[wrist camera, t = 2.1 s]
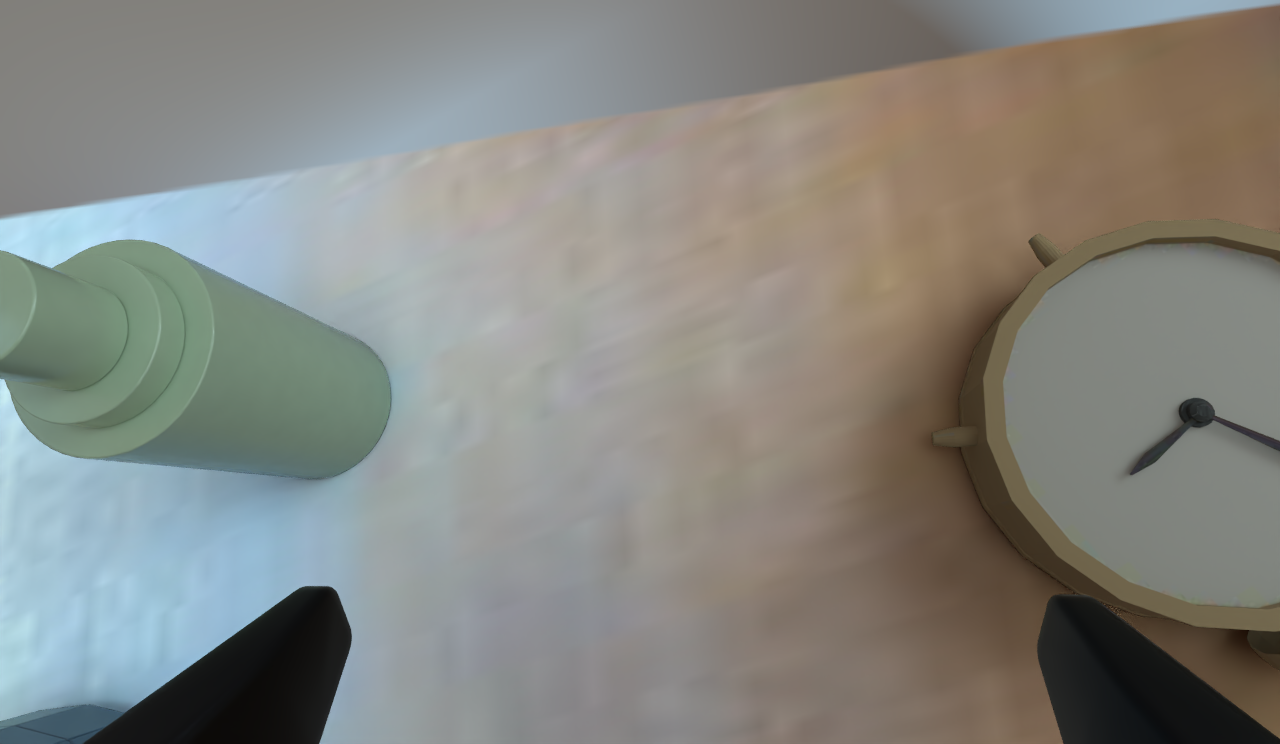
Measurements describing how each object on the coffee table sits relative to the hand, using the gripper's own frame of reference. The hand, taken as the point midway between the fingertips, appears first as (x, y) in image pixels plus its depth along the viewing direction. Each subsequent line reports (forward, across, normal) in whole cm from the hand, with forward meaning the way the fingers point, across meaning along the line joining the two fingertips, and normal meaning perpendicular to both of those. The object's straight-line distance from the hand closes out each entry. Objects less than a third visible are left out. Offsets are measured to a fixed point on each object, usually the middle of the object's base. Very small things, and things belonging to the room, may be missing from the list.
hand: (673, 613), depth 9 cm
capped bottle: (+15, +14, +6) cm, 21 cm away
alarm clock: (+13, -15, +7) cm, 22 cm away
